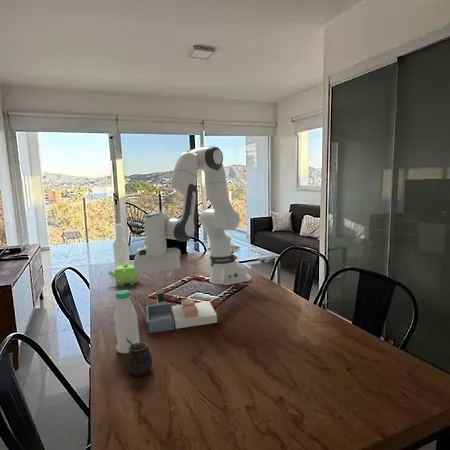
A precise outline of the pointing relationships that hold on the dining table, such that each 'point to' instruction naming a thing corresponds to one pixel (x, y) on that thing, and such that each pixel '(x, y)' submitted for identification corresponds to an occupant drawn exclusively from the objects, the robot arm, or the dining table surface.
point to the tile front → (190, 311)
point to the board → (204, 317)
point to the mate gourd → (139, 358)
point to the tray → (159, 318)
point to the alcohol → (120, 247)
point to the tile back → (187, 303)
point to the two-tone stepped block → (160, 296)
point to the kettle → (125, 274)
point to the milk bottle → (125, 322)
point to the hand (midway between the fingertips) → (158, 280)
